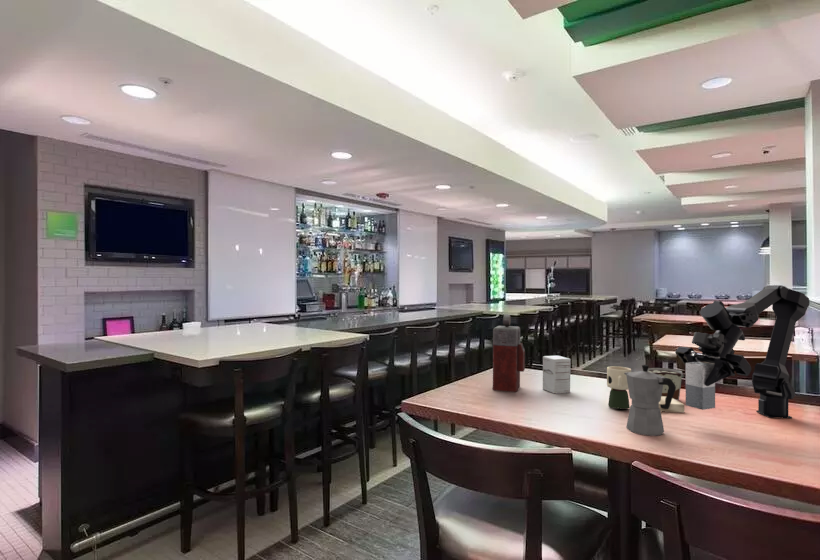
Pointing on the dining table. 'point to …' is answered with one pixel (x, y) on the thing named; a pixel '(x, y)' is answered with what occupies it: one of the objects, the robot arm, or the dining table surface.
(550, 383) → the supplement box
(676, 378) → the food container
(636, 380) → the coffeepot
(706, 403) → the block
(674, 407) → the stand
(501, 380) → the red thermos flask
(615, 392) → the character mug
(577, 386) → the dining table surface
